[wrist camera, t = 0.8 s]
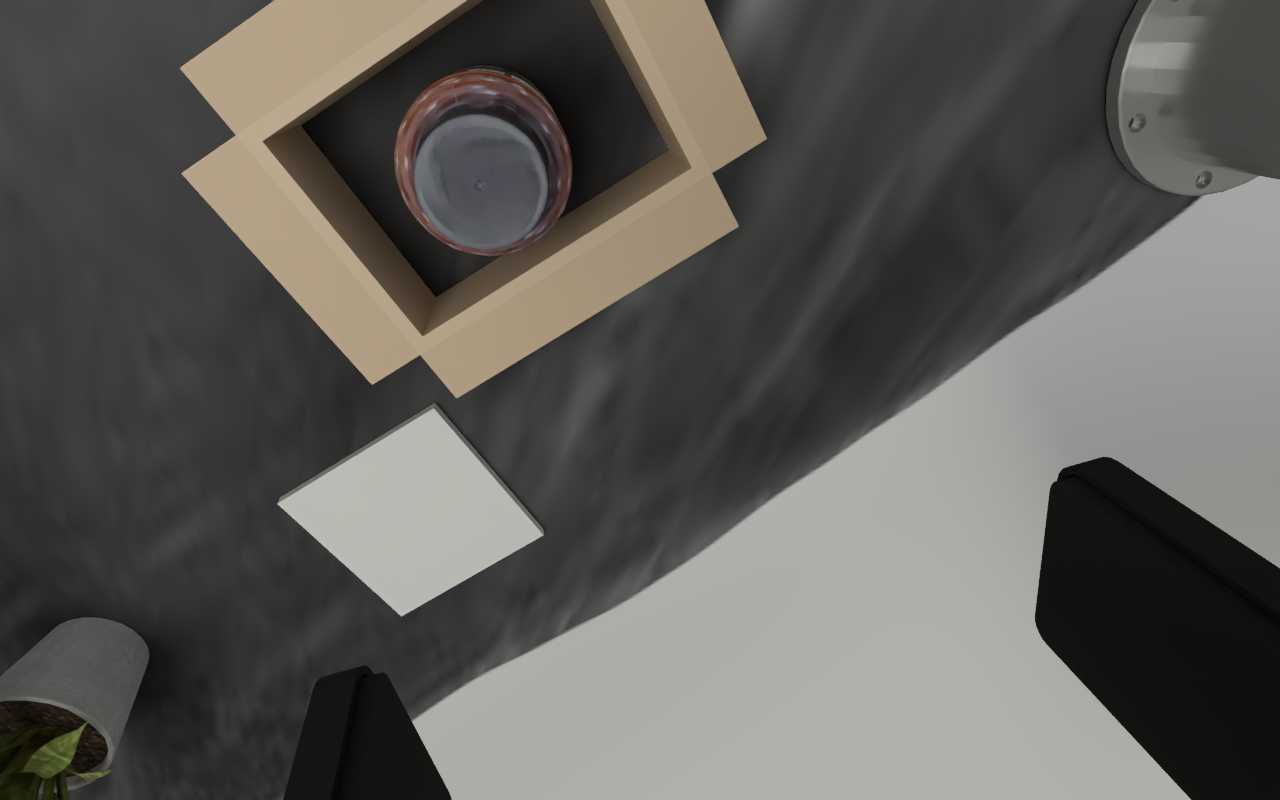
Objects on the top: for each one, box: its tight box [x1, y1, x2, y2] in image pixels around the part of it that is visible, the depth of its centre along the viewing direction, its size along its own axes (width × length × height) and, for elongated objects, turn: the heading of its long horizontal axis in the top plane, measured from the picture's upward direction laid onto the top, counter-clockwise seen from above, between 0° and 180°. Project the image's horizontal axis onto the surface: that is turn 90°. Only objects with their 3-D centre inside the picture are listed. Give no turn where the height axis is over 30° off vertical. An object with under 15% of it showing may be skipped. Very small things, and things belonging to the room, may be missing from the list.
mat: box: [277, 403, 544, 616], centre depth 39 cm, size 10×10×1 cm
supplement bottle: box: [394, 65, 572, 256], centre depth 26 cm, size 6×6×11 cm
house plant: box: [0, 617, 149, 800], centre depth 33 cm, size 14×14×16 cm
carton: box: [180, 0, 767, 398], centre depth 29 cm, size 19×15×5 cm
